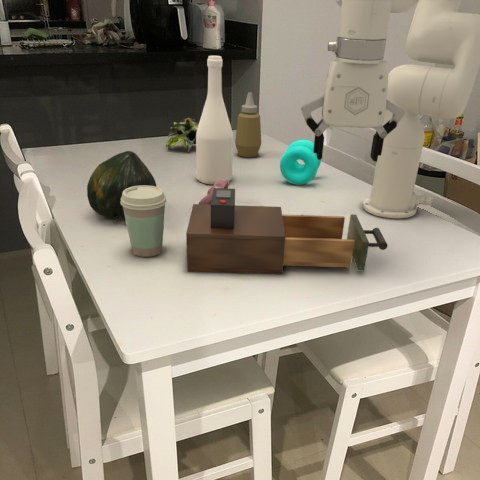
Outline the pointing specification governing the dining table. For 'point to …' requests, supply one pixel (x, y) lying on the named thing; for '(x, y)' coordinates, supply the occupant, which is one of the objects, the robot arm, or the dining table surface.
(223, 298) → the dining table surface
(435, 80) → the robot arm
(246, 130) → the squeeze bottle
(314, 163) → the donuts
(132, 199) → the coffee cup
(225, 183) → the video game controller
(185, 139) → the green leafy plant
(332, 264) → the drawer
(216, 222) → the red button box
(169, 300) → the dining table surface
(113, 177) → the squash
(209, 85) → the wine bottle
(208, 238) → the cabinet
